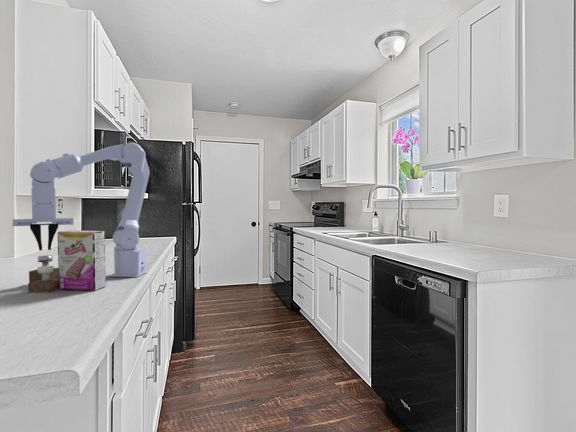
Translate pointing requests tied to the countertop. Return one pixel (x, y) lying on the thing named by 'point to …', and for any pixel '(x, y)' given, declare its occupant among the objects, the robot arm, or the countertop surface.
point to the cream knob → (45, 272)
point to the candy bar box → (81, 260)
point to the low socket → (43, 286)
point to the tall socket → (36, 276)
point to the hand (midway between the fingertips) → (45, 249)
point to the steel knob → (45, 259)
